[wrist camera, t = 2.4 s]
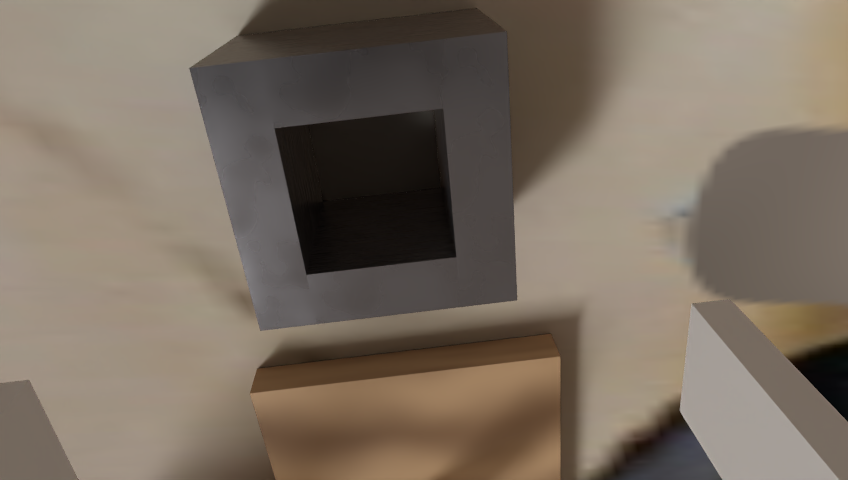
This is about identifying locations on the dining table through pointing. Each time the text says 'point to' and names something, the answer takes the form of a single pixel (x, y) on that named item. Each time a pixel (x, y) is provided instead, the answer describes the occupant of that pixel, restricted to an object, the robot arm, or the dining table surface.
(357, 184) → the dining table surface
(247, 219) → the grey square socket block
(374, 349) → the dining table surface
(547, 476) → the board
